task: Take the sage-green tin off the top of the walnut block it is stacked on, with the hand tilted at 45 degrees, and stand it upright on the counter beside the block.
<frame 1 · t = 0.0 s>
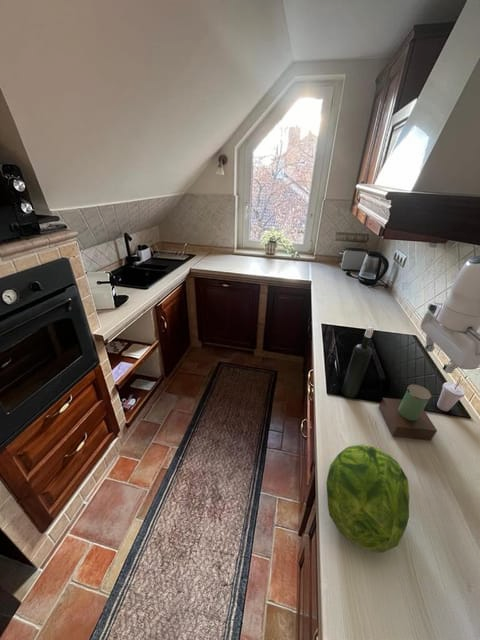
hand: (437, 360, 72), 28 cm above the worktop, tool pointing down, fingers open, 8 cm apart
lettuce: (357, 502, 66), on the worktop
wine bottle: (348, 393, 99), on the worktop
walnut block: (403, 422, 87), on the worktop, touching green tin
smoothie: (442, 407, 94), on the worktop
green tin: (408, 413, 85), point 5 cm above the worktop, touching walnut block
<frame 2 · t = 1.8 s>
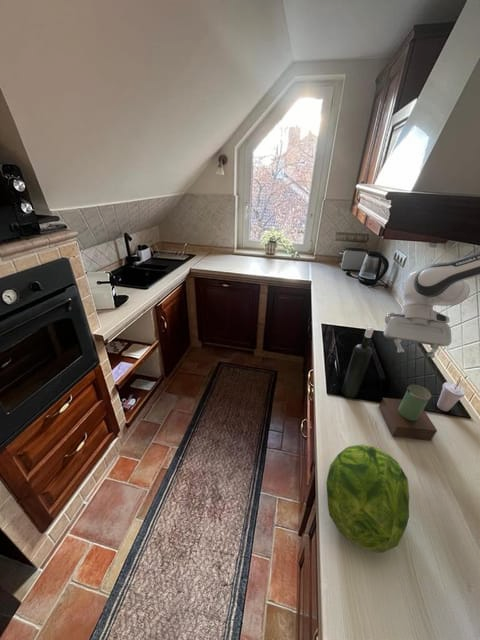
hand: (415, 355, 86), 21 cm above the worktop, tool tilted 45°, fingers open, 8 cm apart
nothing on the worktop moved.
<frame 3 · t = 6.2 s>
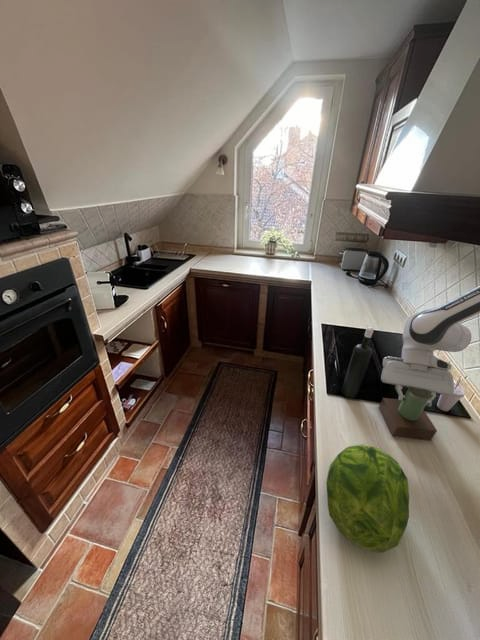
hand: (414, 403, 81), 10 cm above the worktop, tool tilted 45°, fingers closed on green tin, 6 cm apart
walnut block: (402, 423, 87), on the worktop
green tin: (408, 413, 85), point 5 cm above the worktop, touching gripper
everything else where it was.
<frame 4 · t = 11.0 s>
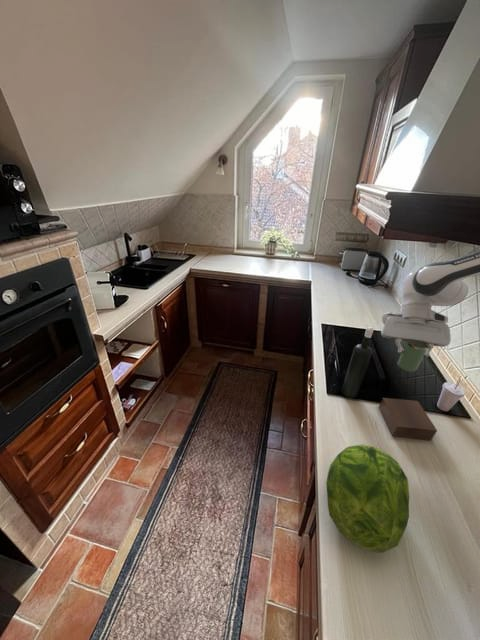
hand: (413, 354, 85), 21 cm above the worktop, tool tilted 45°, fingers closed on green tin, 6 cm apart
green tin: (406, 365, 89), point 16 cm above the worktop, touching gripper
everything else where it was.
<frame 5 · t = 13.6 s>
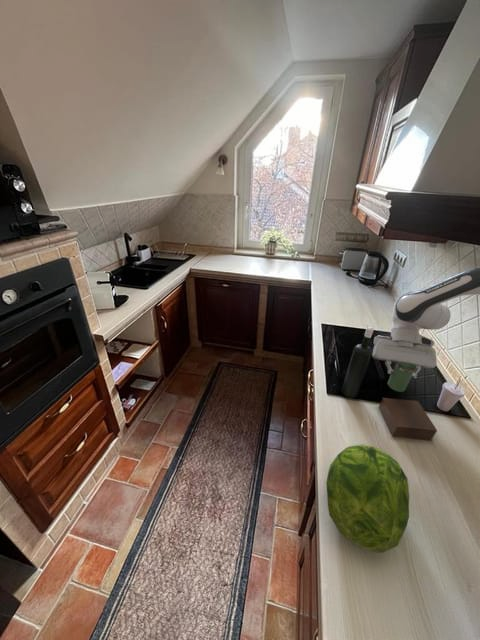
hand: (401, 376, 91), 11 cm above the worktop, tool tilted 45°, fingers closed on green tin, 6 cm apart
green tin: (396, 385, 95), point 6 cm above the worktop, touching gripper
everything else where it was.
when the fingers open (5 cm above the worktop, at t = 15.8 s): green tin stays where it is, on the worktop.
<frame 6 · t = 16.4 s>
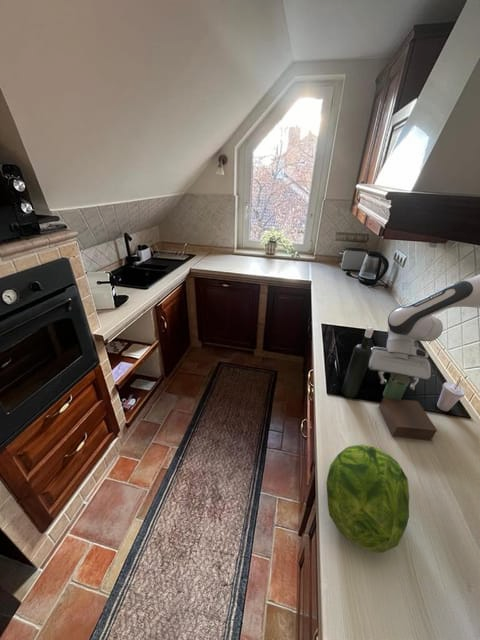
hand: (397, 386, 94), 6 cm above the worktop, tool tilted 45°, fingers open, 8 cm apart
green tin: (391, 396, 97), on the worktop
everything else where it was.
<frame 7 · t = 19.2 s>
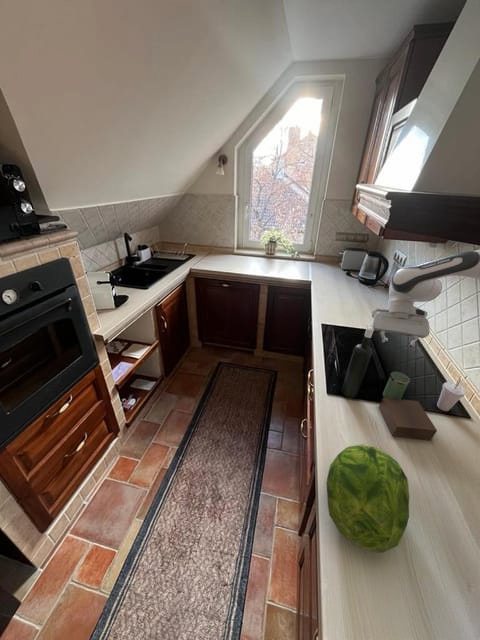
hand: (397, 344, 99), 16 cm above the worktop, tool tilted 45°, fingers open, 8 cm apart
nothing on the worktop moved.
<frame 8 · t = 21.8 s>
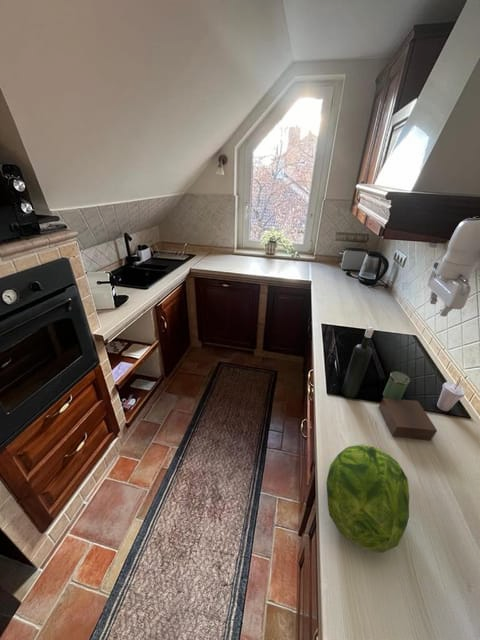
hand: (436, 309, 87), 34 cm above the worktop, tool pointing down, fingers open, 8 cm apart
nothing on the worktop moved.
at the end: green tin touching worktop; green tin tilted 0° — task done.
